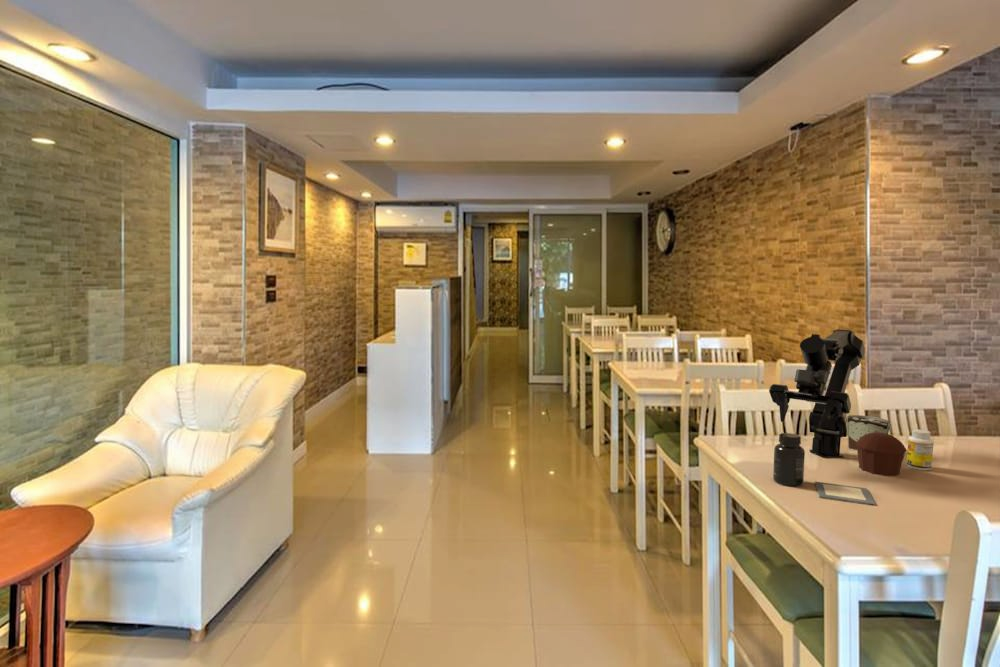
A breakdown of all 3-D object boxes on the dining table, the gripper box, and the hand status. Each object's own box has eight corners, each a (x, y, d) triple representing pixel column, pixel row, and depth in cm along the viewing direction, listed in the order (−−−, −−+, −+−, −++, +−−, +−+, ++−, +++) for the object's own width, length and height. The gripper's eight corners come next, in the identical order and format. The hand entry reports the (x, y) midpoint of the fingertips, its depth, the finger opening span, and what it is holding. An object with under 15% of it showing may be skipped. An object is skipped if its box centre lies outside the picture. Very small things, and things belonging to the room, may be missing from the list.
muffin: (844, 464, 160) (846, 428, 159) (881, 463, 161) (884, 428, 160) (875, 478, 148) (878, 440, 148) (916, 477, 149) (919, 439, 149)
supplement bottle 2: (907, 463, 162) (910, 427, 161) (931, 467, 158) (934, 430, 157) (905, 468, 157) (908, 431, 156) (930, 472, 154) (933, 434, 153)
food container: (897, 454, 170) (900, 421, 169) (888, 458, 167) (890, 423, 166) (852, 444, 180) (855, 413, 179) (843, 447, 177) (845, 415, 176)
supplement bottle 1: (796, 478, 147) (799, 432, 146) (808, 487, 141) (811, 439, 140) (768, 477, 148) (771, 431, 147) (778, 486, 141) (781, 438, 140)
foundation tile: (814, 482, 144) (815, 481, 144) (866, 489, 140) (866, 487, 140) (819, 497, 134) (819, 495, 134) (875, 505, 130) (875, 503, 130)
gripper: (773, 354, 158) (755, 400, 151) (851, 361, 145) (836, 412, 138) (781, 379, 164) (765, 424, 157) (856, 388, 151) (842, 438, 145)
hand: (800, 424), depth 149 cm, fingers open, 9 cm apart
